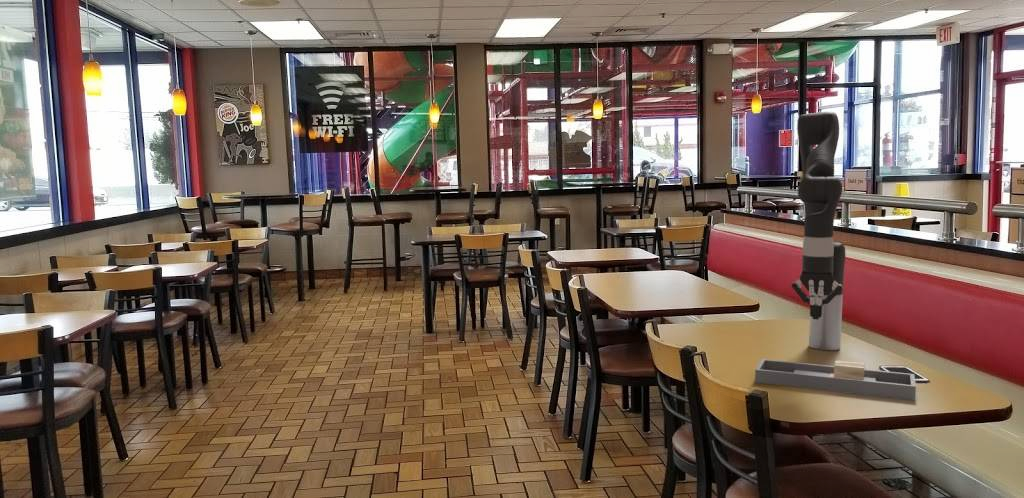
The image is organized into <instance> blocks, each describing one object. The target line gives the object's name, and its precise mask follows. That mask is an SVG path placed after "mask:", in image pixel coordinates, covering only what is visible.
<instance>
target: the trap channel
mask: <svg viewBox="0 0 1024 498" xmlns="http://www.w3.org/2000/svg"><path fill="white" fill-rule="evenodd" d="M754 373H755V374H754V383H756V384H764V383H765V384H766V385H773V384H775V385H774V386H782V385H785V386H786V387H791V386H792V387H793V388H801V389H802V388H803V389H808V390H809V389H810V390H819V391H820V390H821V391H829V392H835V393H836V392H838V393H846V394H852V395H853V394H855V395H863V396H864V395H865V396H872V397H881V398H891V399H899V400H900V399H901V400H908V401H916V389H917V386H916V382H915V375H914V374H908V373H898V372H888V371H883V370H877V369H869V368H868V369H866V368H864V380H858V379H849V378H839V377H834V365H826V364H817V363H816V364H814V363H805V362H795V361H788V360H787V361H785V360H775V359H765V358H761V359H760V362H759V363H758V365H757V366H756V367H755V371H754ZM765 384H764V385H765ZM785 386H784V387H785ZM792 387H791V388H792Z"/></svg>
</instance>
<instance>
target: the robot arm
mask: <svg viewBox="0 0 1024 498" xmlns="http://www.w3.org/2000/svg"><path fill="white" fill-rule="evenodd" d="M796 123H797V125H796V126H797V138H798V145H799V152H800V159H801V168H802V170H801V171H802V178H801V179H800V182H799V185H798V188H797V195H798V199H799V200H800V201H801V202H802V203H804V204H803V205H804V212H805V213H804V214H805V217H804V227H803V229H804V230H803V234H804V235H803V236H804V237H803V243H802V250H801V253H802V259H801V261H802V262H801V274H800V275H799V279H797V280H795V281H793V282H792V283H791V287H792V289H793V290H794V291H795V293H796V294H797V295H798V297H799V298H800V299H801V300H802V302H803V303H806V304H809V306H810V307H809V332H808V347H810V348H811V349H815V350H821V351H836V350H840V349H841V345H842V343H841V342H842V341H841V338H842V319H843V318H842V317H843V316H842V315H843V314H842V313H843V294H844V293H843V291H844V274H845V272H844V271H845V263H846V248H845V245H844V244H843V243H842V242H838V241H836V242H835V241H834V224H835V223H834V222H835V215H836V211H837V209H838V204H839V203H840V200H841V198H842V197H841V196H842V193H843V183H842V181H841V180H840V179H839V178H838V177H836V176H835V155H836V152H837V149H838V143H839V137H840V121H839V118H838V115H837V113H836V112H834V111H822V112H821V111H820V112H811V113H804V114H800V115H799V116H798V118H797V122H796ZM812 146H815V147H814V148H812ZM802 285H803V286H804V288H805V289H806V290H807V291H808V294H809V296H808V295H807V293H806V292H805V291H804V290H803V289H802V287H803V286H802Z"/></svg>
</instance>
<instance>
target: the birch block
mask: <svg viewBox="0 0 1024 498" xmlns="http://www.w3.org/2000/svg"><path fill="white" fill-rule="evenodd" d="M865 365H866V363H864V362H855V361H853V362H852V361H844V360H835V362H834V365H833V366H834V377H839V378H849V379H858V380H864V369H865V367H866V366H865Z"/></svg>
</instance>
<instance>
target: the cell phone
mask: <svg viewBox="0 0 1024 498" xmlns="http://www.w3.org/2000/svg"><path fill="white" fill-rule="evenodd" d="M878 369H879V370H880V371H888V372H898V373H908V374H914V375H915V383H917V384H918V383H919V384H920V383H922V384H923V383H924V384H925V382H929V383H930V382H931V381H930V380H931V379H928V378H927V377H926V376H924V375H922V374H920V373H919V372H917V371H915V370H913V369H912V368H910V367H908V366H906V365H879V367H878Z"/></svg>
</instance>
